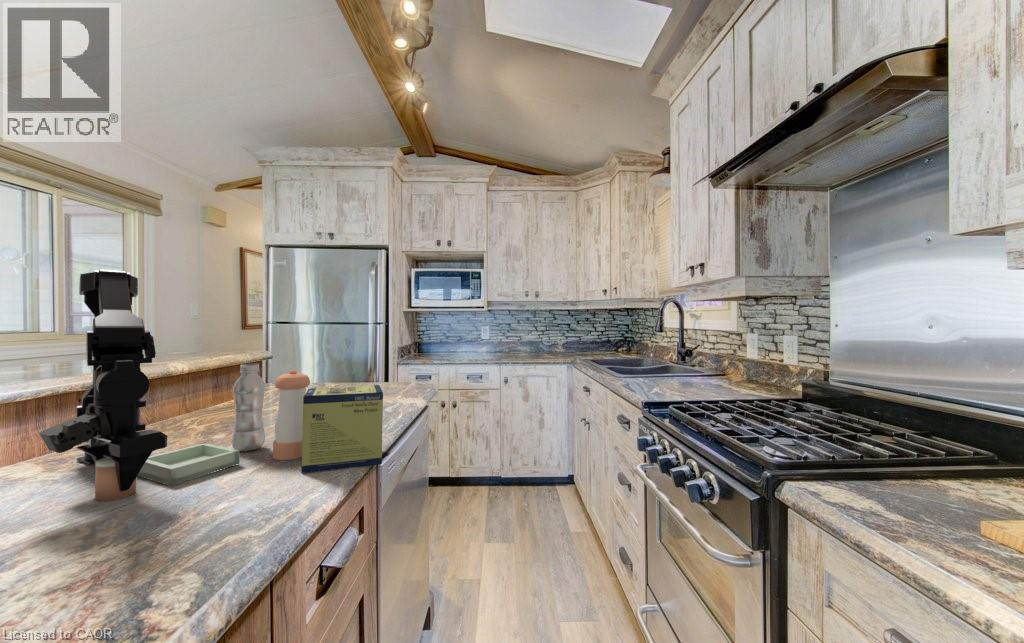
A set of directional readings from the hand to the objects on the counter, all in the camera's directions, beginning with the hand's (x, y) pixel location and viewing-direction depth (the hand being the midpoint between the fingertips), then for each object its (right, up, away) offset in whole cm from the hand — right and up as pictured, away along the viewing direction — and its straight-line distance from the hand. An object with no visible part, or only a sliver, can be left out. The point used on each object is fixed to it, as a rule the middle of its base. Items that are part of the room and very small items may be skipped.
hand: (116, 487), depth 68 cm
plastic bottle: (+6, -2, +24) cm, 25 cm away
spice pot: (0, -1, 0) cm, 1 cm away
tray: (+3, -1, +12) cm, 12 cm away
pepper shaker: (+18, -2, +21) cm, 28 cm away
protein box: (+32, -2, +18) cm, 36 cm away
